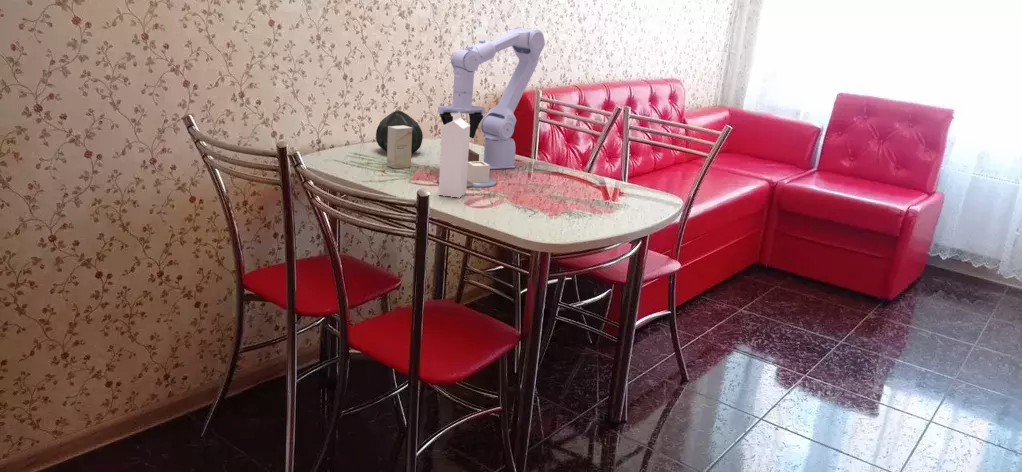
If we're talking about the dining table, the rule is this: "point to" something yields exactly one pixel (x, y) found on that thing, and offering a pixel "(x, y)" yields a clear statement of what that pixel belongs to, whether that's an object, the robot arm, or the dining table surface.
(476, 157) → the brown upright panel
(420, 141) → the squash
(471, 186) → the cork mat
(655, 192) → the dining table surface
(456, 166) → the milk
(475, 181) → the letter cube
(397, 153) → the skincare box
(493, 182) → the light blue plate
